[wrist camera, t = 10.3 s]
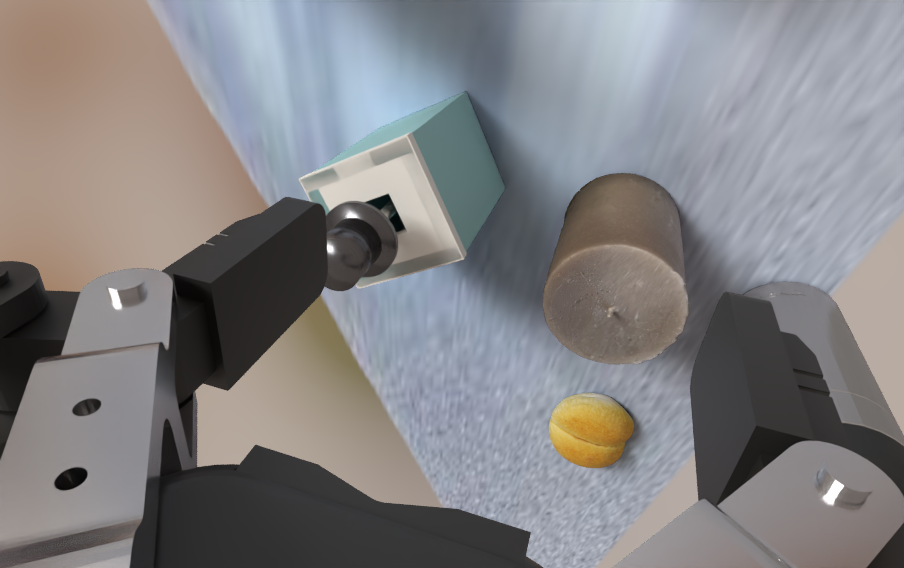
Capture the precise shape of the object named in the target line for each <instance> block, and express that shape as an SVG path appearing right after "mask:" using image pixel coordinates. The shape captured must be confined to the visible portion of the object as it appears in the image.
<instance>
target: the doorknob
mask: <svg viewBox="0 0 904 568" xmlns="http://www.w3.org/2000/svg"><path fill="white" fill-rule="evenodd" d="M396 212H397V210H396V207H395V205H394V203H393V201H392V199H391V200H390V201H389V202H388V203H387V204H386V205H385V206H384V207H383V208H382V209H381V210H379V209H377V208H376V207H374V206H372V205H370V204H368V203H365V202H361V201H347V202H343V203H341V204H339V205H337V206H336V207H334V208H333V209H332V210H331V211H330V212H329V213H328V214H327V215H326V230H327V258H328V274H327V279H326V283H325V287H327V288H329V289H331V290H335V291H345V290H348V289H350V288H352V287H353V286H354V285H355V284H356V283H357V282H358V281H359V280H360V278H361V277H374V276H377V275H380V274H382V273H383V272H385V271H386V270H387V269H388V268H389V267H390V265H391V264H392V263H393V262H394V260H395V258H396V256H397V252H398V237H397V234H396V231H395V229H394V227H393V225H392V223H391V222H390V220H389V219H390V218H391V217H392V216H393V215H394V214H395V213H396Z"/></svg>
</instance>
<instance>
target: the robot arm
mask: <svg viewBox="0 0 904 568" xmlns="http://www.w3.org/2000/svg"><path fill="white" fill-rule="evenodd" d="M327 274H328V258H327V230H326V213H325V209H324V207H323V206H322V205H321V204H319V203H314V202H310V201H305V200H300V199H296V198H291V197H285V198H283V199H281V200H280V201H279V202H277V203H276V204H274V205H273V206H271V207H270V208H268V209H267V210H265V211H264V212H262V213H261V214H257V215H254V216H251V217H248V218H246V219H242V220H239V221H237V222H235V223H234V224H232V225H231V226H229V227H227V228H226V229H224V230H223V231H222V232H220V235H215V236H214V237H212V238H211V239H209V240H208V241H206V244H202V245H200V246H199V247H197V248H196V249H194V250H193V251H191V252H190V253H188V254H186V255H185V256H183V257H182V258H181V259H179V260H177V261H176V262H174V263H173V264H171V265H170V266H168V267H167V268H165V269H164V270H162V271H159V270H154V269H148V268H132V269H124V270H120V271H115V272H111V273H108V274H105V275H103V276H100V277H98V278H96V279H94V280H93V281H91V282H90V283H88V284H87V285H86V286H85V287H84V288H83V289H82V290H81V292H67V291H45V288H44V285H43V282H42V279H41V277H40V273H39V271H38V269H37V268H36V267H34V266H33V265H31V264H27V263H23V262H15V261H5V262H4V261H3V262H0V568H543V567H542V566H540V565H539V564H537V563H536V562H534V561H533V560H531V559H529V558H528V557H526V552H527V547H528V543H529V538H530V533H531V532H528V531H525V530H522V529H519V528H515V527H512V526H509V525H506V524H503V523H500V522H497V521H493V520H490V519H487V518H484V517H481V516H478V515H475V514H471V513H468V512H465V511H462V510H459V509H451V508H439V507H427V506H416V505H404V504H392V503H383V502H379V501H376V500H374V499H372V498H370V497H368V496H367V495H365V494H363V493H362V492H360V491H359V490H357V489H356V488H354V487H353V486H351V485H349V484H348V483H346V482H345V481H343V480H342V479H340V478H338V477H337V476H335V475H333V474H332V473H330V472H329V471H327V470H326V469H324V468H322V467H321V466H319V465H318V464H314V463H311V462H308V461H305V460H302V459H298V458H295V457H292V456H289V455H286V454H283V453H280V452H277V451H273V450H270V449H267V448H264V447H261V446H258V445H255V446H254V447H253V449H252V450H251V451H250V452H249V454H248V455H247V456H246V458H245V459H244V460H243V461H242V462H241V464H240V465H234V464H232V465H231V464H230V465H211V466H203V467H197V399H196V393H195V390H196V389H197V388H198V387H199V386H200V385H201V384H203V383H204V384H207V385H210V386H214V387H217V388H221V389H224V390H227V391H228V390H229V389H230V388H231V387H232V386H233V385H234V384H235V383H236V382H237V381H238V380H239V379H240V378H241V377H242V376H243V375H244V374H245V373H246V372H247V371H248V370H249V368H250V367H251V366H252V365H253V364H254V363H255V362H256V361H257V360H258V359H259V358H260V357H261V356H262V355H263V354H264V353H265V352H266V351H267V350H268V349H269V348H270V347H271V346H272V345H273V344H274V342H275V341H276V340H277V339H278V338H279V337H280V336H281V335H282V334H283V333H284V332H285V331H286V330H287V329H288V328H289V327H290V326H291V325H292V324H293V323H294V321H296V320H297V319H298V318H299V316H300V315H301V314H302V313H303V312H304V311H305V310H306V309H307V308H308V307H309V306H310V305H311V304H312V303H313V302H314V301H315V300H316V299H317V298H318V297H319V295H320V294H321V292H322V290H323V288H324V286H325V283H326V279H327ZM690 394H691V407H692V421H693V434H694V447H695V460H696V473H697V486H698V500H699V501H698V502H697V503H695V504H694V505H693V506H691V507H690V508H688V509H687V510H686V511H684V512H683V513H682V514H681V515H679V516H678V517H677V518H675V519H674V520H673V521H672V522H670V523H669V524H668V525H666V526H665V527H664V528H663V529H661V530H660V531H659V532H658V533H656V534H655V535H653V536H652V537H651V538H650V539H648V540H647V541H646V542H644V543H643V544H642V545H641V546H640V547H638V548H637V549H635V550H634V551H633V552H632V553H630V554H629V555H628V556H626V557H625V558H624V559H623V560H621V561H620V562H619V563H617V564H616V565H615V566H613V567H612V568H904V436H903V434H902V431H901V430H900V428H899V426H898V424H897V422H896V420H895V418H894V416H893V414H892V412H891V410H890V408H889V406H888V404H887V402H886V400H885V398H884V396H883V394H882V392H881V390H880V388H879V386H878V385H877V382H876V380H875V378H874V377H873V375H872V372H871V371H870V368H869V367H868V365H867V363H866V361H865V359H864V357H863V355H862V353H861V351H860V349H859V347H858V345H857V343H856V341H855V339H854V337H853V334H852V332H851V330H850V328H849V326H848V325H847V323H846V321H845V319H844V317H843V315H842V313H841V311H840V309H839V307H838V305H837V304H836V303H835V301H834V300H833V299H832V298H831V297H830V296H829V295H827V294H826V293H824V292H823V291H821V290H820V289H817V288H815V287H813V286H810V285H807V284H802V283H797V282H777V283H769V284H766V285H763V286H759V287H756V288H754V289H752V290H750V291H748V292H746V293H745V294H744V295H739V294H734V293H730V292H725V293H724V294H723V295H722V296H721V298H720V300H719V302H718V304H717V307H716V309H715V312H714V315H713V317H712V320H711V322H710V325H709V327H708V330H707V332H706V335H705V337H704V340H703V342H702V345H701V347H700V350H699V352H698V355H697V358H696V360H695V364H694V367H693V372H692V377H691V385H690Z"/></svg>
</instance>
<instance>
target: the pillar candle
mask: <svg viewBox="0 0 904 568" xmlns="http://www.w3.org/2000/svg"><path fill="white" fill-rule="evenodd" d="M688 308H689V304H688V295H687V287H686V279H685V269H684V256H683V246H682V237H681V227H680V218H679V214H678V211H677V208H676V205H675V202H674V201H673V199H672V198H671V197H670V195H669V193H668V192H667V191H666V190H665V189H664V188H663V187H661V186H660V185H659V184H657V183H656V182H654V181H652V180H650V179H647V178H645V177H643V176H639V175H636V174H628V173H620V174H609V175H605V176H602V177H599V178H596V179H594V180H593V181H590V182H589V183H587V184H586V185H585V186H583V187H582V188H581V189H580V191H578V192H577V193H576V194H575V196H574V197H573V199H572V200H571V202H570V203H569V206H568V208H567V211H566V214H565V220H564V225H563V228H562V230H561V234H560V237H559V240H558V244H557V247H556V249H555V253H554V257H553V260H552V263H551V266H550V270H549V273H548V277H547V280H546V284H545V287H544V291H543V310H544V314H545V319H546V322H547V324H548V326H549V328H550V330H551V331H552V333H553V334H554V336H555V337H556V338H557V339H558V340H559V342H561V343H562V344H563V345H564V346H565V347H567V348H568V349H569V350H571V351H573V352H574V353H576V354H577V355H579V356H581V357H584V358H587V359H590V360H593V361H596V362H601V363H607V364H631V363H632V364H640V363H642V362H643V361H645V360H646V361H647V360H651V359H653V358H655V357H657V356H658V354H662V353H663V351H664V350H665V349H666V348H667V347H669V346H670V345H671V344H673V343H675V342H676V341H677V340H676V339H677V337H678V335H680V334H681V333H682V332H683V330H684V325H685V323H686V319H687V316H688V315H689V310H688Z"/></svg>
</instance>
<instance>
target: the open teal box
mask: <svg viewBox="0 0 904 568" xmlns="http://www.w3.org/2000/svg"><path fill="white" fill-rule="evenodd" d="M299 181H300V183H301V185H302V187H303V188H304V190H305V192H306V194H307V196H308V198H309V199H310V201H311V202H314V203H319V204H321V205H322V206H323V207H324V209H325V213H326V215H327V214H328V213H329V212H330V211H331V210H332V209H333V208H334V207H336V206H337V205H339V204H341V203H343V202H347V201H361V202H365V203H368V204H370V205H372V206H374V207H376V208H377V209H379V210H381V209H382V208H383V207H384V206H385V205H386V204H387V203H388V202H389V201H390V200H391V199H392V201H393V203H394V205H395V207H396V210H397V212H396V213H395V214H394V215H393V216H392V217H391V218H390V219H389V220H390V222H391V223H392V225H393V227H394V229H395V231H396V234H397V237H398V252H397V256H396V258H395V260H394V262H393V263H392V264H391V265H390V267H389V268H388V269H387V270H386V271H385V272H383V273H382V274H380V275H377V276H374V277H361V278H360V280H359V281H358V282H357V283H356V286H357V288H358V289H360V288H363V287H367V286H370V285H374V284H378V283H381V282H385V281H388V280H392V279H396V278H399V277H403V276H406V275H410V274H414V273H417V272H421V271H424V270H428V269H432V268H435V267H439V266H442V265H446V264H450V263H453V262H457V261H460V260H464V259H465V257H466V255H467V253H466V252H467V250H468V248H469V247H470V245H471V243H472V242H473V240H474V239H475V237H476V235H477V234H478V232H479V230H480V229H481V227H482V226H483V224H484V222H485V221H486V219H487V218H488V216H489V214H490V213H491V211H492V209H493V208H494V206H495V205H496V203H497V201H498V200H499V198H500V196H501V195H502V193H503V192H504V190H505V185H504V183H503V180H502V178H501V175H500V173H499V171H498V168H497V166H496V163H495V161H494V158H493V156H492V153H491V151H490V148H489V146H488V143H487V141H486V139H485V136H484V134H483V131H482V129H481V126H480V124H479V121H478V119H477V116H476V114H475V111H474V109H473V106H472V104H471V102H470V99H469V97H468V94H467V92H466V91H465V92H463V93H461V94H458V95H456V96H453V97H451V98H449V99H446V100H444V101H442V102H439V103H437V104H435V105H432V106H430V107H428V108H425V109H423V110H420V111H418V112H416V113H413V114H411V115H409V116H406V117H404V118H402V119H399V120H397V121H395V122H392V123H390V124H387V125H385V126H383V127H380V128H378V129H377V130H375V131H374V132H372V133H371V134H369V135H368V136H366V137H365V138H363V139H362V140H360V141H359V142H357V143H356V144H354V145H353V146H351V147H350V148H348V149H347V150H345V151H344V152H342V153H341V154H339V155H338V156H336V157H335V158H333V159H332V160H330V161H329V162H327V163H326V164H324V165H323V166H321V167H320V168H318V169H317V170H315V171H314V172H312V173H309V174H307V175H305V176H303V177H301V178H300V179H299Z"/></svg>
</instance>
